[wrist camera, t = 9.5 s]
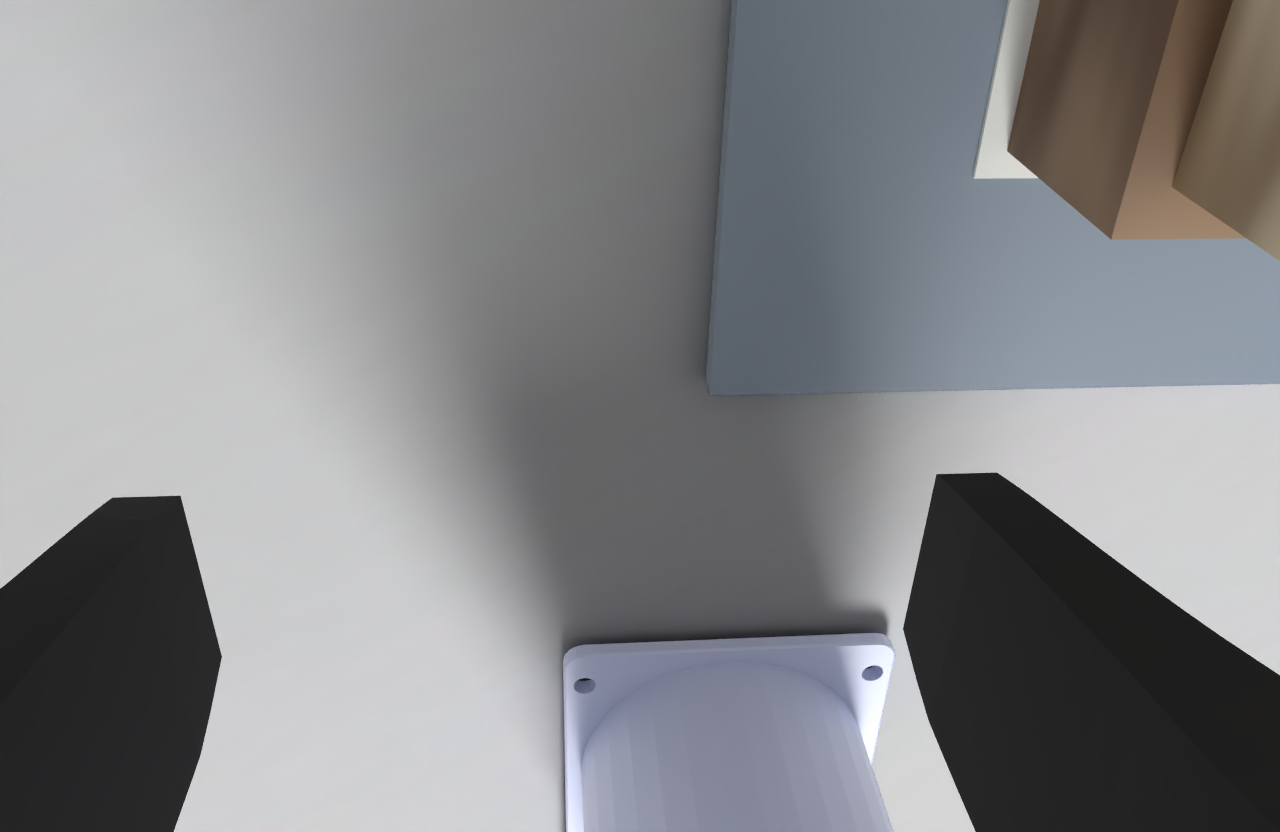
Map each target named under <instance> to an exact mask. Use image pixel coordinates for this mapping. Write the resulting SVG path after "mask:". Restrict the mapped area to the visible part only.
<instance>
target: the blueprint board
mask: <svg viewBox="0 0 1280 832" xmlns="http://www.w3.org/2000/svg"><path fill="white" fill-rule="evenodd" d="M1039 1H1040V0H732V1H731V15H730V30H729V44H728V59H727V74H726V88H725V103H724V117H723V132H722V146H721V161H720V176H719V190H718V205H717V219H716V234H715V248H714V263H713V278H712V292H711V307H710V321H709V336H708V350H707V365H706V379H705V381H706V385H707V388H708V392H709V396H721V395H769V394H816V393H863V392H911V391H958V390H1005V389H1052V388H1100V387H1147V386H1194V385H1242V384H1280V261H1279V260H1277V259H1276V258H1274V257H1273V256H1271V255H1270V254H1268V253H1267V252H1266V251H1264V250H1263V249H1261V248H1260V247H1258V246H1257V245H1255V244H1254V243H1252V242H1251V241H1250V240H1248V239H1247V238H1236V239H1122V240H1111V239H1110V238H1109V237H1107V236H1106V235H1105V234H1104V233H1103V232H1102V231H1100V230H1099V229H1098V228H1097V227H1096V226H1094V225H1093V224H1092V223H1091V222H1090V221H1089V220H1087V219H1086V218H1085V217H1084V216H1083V215H1082V214H1080V213H1079V212H1078V211H1077V210H1076V209H1074V208H1073V207H1072V206H1071V205H1070V204H1069V203H1067V202H1066V201H1065V200H1064V199H1063V198H1062V197H1060V196H1059V195H1058V194H1057V193H1056V192H1054V191H1053V190H1052V189H1051V188H1050V187H1049V186H1047V185H1046V184H1045V183H1044V182H1043V181H1042V180H1040V179H1039V178H1038V177H1037V176H1036V175H1034V174H1033V173H1032V172H1031V171H1030V170H1029V169H1027V168H1026V167H1025V166H1024V165H1023V164H1022V163H1020V162H1019V161H1018V160H1017V159H1016V158H1014V157H1013V156H1012V155H1011V154H1010V153H1009V152H1007V149H1008V145H1009V140H1010V135H1011V131H1012V126H1013V121H1014V117H1015V112H1016V108H1017V103H1018V98H1019V94H1020V89H1021V84H1022V80H1023V75H1024V71H1025V66H1026V61H1027V57H1028V52H1029V47H1030V43H1031V38H1032V34H1033V29H1034V24H1035V20H1036V15H1037V11H1038V6H1039Z"/></svg>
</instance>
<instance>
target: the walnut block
mask: <svg viewBox="0 0 1280 832" xmlns="http://www.w3.org/2000/svg"><path fill="white" fill-rule="evenodd" d="M1232 2H1233V0H1040V1H1039V6H1038V11H1037V15H1036V20H1035V24H1034V29H1033V34H1032V38H1031V43H1030V47H1029V52H1028V57H1027V61H1026V66H1025V71H1024V75H1023V80H1022V84H1021V89H1020V94H1019V98H1018V103H1017V108H1016V112H1015V117H1014V121H1013V126H1012V131H1011V135H1010V140H1009V145H1008V149H1007V152H1009V153H1010V154H1011V155H1012V156H1013V157H1014V158H1016V159H1017V160H1018V161H1019V162H1020V163H1022V164H1023V165H1024V166H1025V167H1026V168H1027V169H1029V170H1030V171H1031V172H1032V173H1033V174H1034V175H1036V176H1037V177H1038V178H1039V179H1040V180H1042V181H1043V182H1044V183H1045V184H1046V185H1047V186H1049V187H1050V188H1051V189H1052V190H1053V191H1054V192H1056V193H1057V194H1058V195H1059V196H1060V197H1062V198H1063V199H1064V200H1065V201H1066V202H1067V203H1069V204H1070V205H1071V206H1072V207H1073V208H1074V209H1076V210H1077V211H1078V212H1079V213H1080V214H1082V215H1083V216H1084V217H1085V218H1086V219H1087V220H1089V221H1090V222H1091V223H1092V224H1093V225H1094V226H1096V227H1097V228H1098V229H1099V230H1100V231H1102V232H1103V233H1104V234H1105V235H1106V236H1107V237H1109V238H1110V239H1111V240H1122V239H1236V238H1245V237H1244V236H1242V235H1241V234H1239V233H1238V232H1236V231H1235V230H1233V229H1232V228H1231V227H1229V226H1228V225H1226V224H1225V223H1223V222H1222V221H1220V220H1219V219H1217V218H1216V217H1215V216H1213V215H1212V214H1210V213H1209V212H1207V211H1206V210H1204V209H1203V208H1201V207H1200V206H1199V205H1197V204H1196V203H1194V202H1193V201H1191V200H1190V199H1188V198H1187V197H1185V196H1184V195H1183V194H1181V193H1180V192H1178V191H1177V190H1175V189H1174V188H1172V186H1173V183H1174V180H1175V176H1176V173H1177V170H1178V167H1179V164H1180V161H1181V158H1182V155H1183V152H1184V149H1185V146H1186V143H1187V140H1188V137H1189V134H1190V130H1191V127H1192V124H1193V121H1194V118H1195V115H1196V112H1197V109H1198V106H1199V103H1200V100H1201V97H1202V94H1203V91H1204V88H1205V85H1206V81H1207V78H1208V75H1209V72H1210V69H1211V66H1212V63H1213V60H1214V57H1215V54H1216V51H1217V48H1218V45H1219V42H1220V39H1221V35H1222V32H1223V29H1224V26H1225V23H1226V20H1227V17H1228V14H1229V11H1230V8H1231V5H1232Z"/></svg>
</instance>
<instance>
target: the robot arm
mask: <svg viewBox="0 0 1280 832" xmlns="http://www.w3.org/2000/svg"><path fill="white" fill-rule="evenodd" d="M903 630H904V634H905V637H906V641H907V645H908V649H909V653H910V656H911V660H912V664H913V668H914V671H915V675H916V679H917V682H918V686H919V689H920V693H921V696H922V699H923V703H924V706H925V710H926V713H927V716H928V720H929V722H930V725H931V727H932V730H933V732H934V734H935V737H936V739H937V742H938V744H939V747H940V749H941V751H942V754H943V756H944V758H945V761H946V763H947V766H948V768H949V770H950V773H951V775H952V777H953V780H954V782H955V785H956V787H957V789H958V792H959V794H960V796H961V799H962V801H963V803H964V806H965V808H966V810H967V813H968V815H969V817H970V819H971V822H972V824H973V826H974V829H975V831H976V832H1280V675H1278V674H1277V673H1275V672H1274V671H1272V670H1271V669H1269V668H1268V667H1266V666H1265V665H1263V664H1262V663H1260V662H1259V661H1257V660H1256V659H1254V658H1253V657H1251V656H1250V655H1248V654H1247V653H1245V652H1244V651H1242V650H1241V649H1239V648H1238V647H1236V646H1235V645H1233V644H1232V643H1230V642H1229V641H1227V640H1226V639H1224V638H1223V637H1221V636H1220V635H1218V634H1217V633H1215V632H1214V631H1212V630H1211V629H1210V628H1208V627H1207V626H1205V625H1204V624H1202V623H1201V622H1200V621H1198V620H1197V619H1195V618H1194V617H1192V616H1191V615H1190V614H1188V613H1187V612H1185V611H1184V610H1183V609H1181V608H1180V607H1178V606H1177V605H1176V604H1174V603H1173V602H1171V601H1170V600H1169V599H1167V598H1166V597H1165V596H1163V595H1162V594H1160V593H1159V592H1158V591H1156V590H1155V589H1154V588H1152V587H1151V586H1150V585H1148V584H1147V583H1145V582H1144V581H1143V580H1141V579H1140V578H1139V577H1137V576H1136V575H1135V574H1133V573H1132V572H1131V571H1129V570H1128V569H1127V568H1125V567H1124V566H1123V565H1121V564H1120V563H1119V562H1117V561H1116V560H1115V559H1113V558H1112V557H1111V556H1109V555H1108V554H1107V553H1105V552H1104V551H1103V550H1101V549H1100V548H1099V547H1097V546H1096V545H1095V544H1093V543H1092V542H1091V541H1089V540H1088V539H1087V538H1085V537H1084V536H1083V535H1081V534H1080V533H1079V532H1078V531H1076V530H1075V529H1074V528H1072V527H1071V526H1070V525H1068V524H1067V523H1066V522H1064V521H1063V520H1062V519H1060V518H1059V517H1058V516H1056V515H1055V514H1054V513H1052V512H1051V511H1050V510H1048V509H1047V508H1046V507H1044V506H1043V505H1042V504H1040V503H1039V502H1038V501H1036V500H1035V499H1034V498H1032V497H1031V496H1030V495H1028V494H1027V493H1026V492H1024V491H1023V490H1021V489H1020V488H1019V487H1017V486H1016V485H1014V484H1013V483H1011V482H1010V481H1008V480H1007V479H1005V478H1004V477H1002V476H1001V475H999V474H998V473H969V474H937V475H936V479H935V484H934V489H933V493H932V498H931V502H930V507H929V512H928V516H927V521H926V526H925V530H924V535H923V539H922V544H921V549H920V553H919V558H918V562H917V567H916V572H915V576H914V581H913V586H912V590H911V595H910V599H909V604H908V609H907V613H906V618H905V622H904V627H903ZM221 658H222V656H221V652H220V648H219V644H218V640H217V636H216V632H215V629H214V625H213V621H212V617H211V613H210V609H209V605H208V601H207V597H206V594H205V590H204V586H203V582H202V578H201V574H200V570H199V566H198V563H197V559H196V555H195V551H194V547H193V543H192V539H191V535H190V531H189V527H188V524H187V520H186V516H185V512H184V508H183V504H182V500H181V496H158V497H122V498H111V499H110V500H109V501H107V502H106V503H105V504H103V505H102V506H101V507H99V508H98V509H97V510H95V511H94V512H93V513H92V514H90V515H89V516H88V517H87V518H85V519H84V520H83V521H82V522H80V523H79V524H78V525H77V526H76V527H74V528H73V529H72V530H71V531H69V532H68V533H67V534H66V535H65V536H63V537H62V538H61V539H60V540H59V541H57V542H56V543H55V544H54V545H53V546H51V547H50V548H49V549H48V550H47V551H45V552H44V553H43V554H42V555H41V556H39V557H38V558H37V559H36V560H35V561H33V562H32V563H31V564H30V565H29V566H27V567H26V568H25V569H24V570H23V571H21V572H20V573H19V574H18V575H17V576H16V577H14V578H13V579H12V580H11V581H10V582H8V583H7V584H6V585H5V586H3V587H2V588H1V589H0V832H174V829H175V826H176V823H177V820H178V817H179V815H180V812H181V809H182V806H183V803H184V801H185V798H186V795H187V792H188V789H189V787H190V784H191V781H192V778H193V775H194V772H195V769H196V766H197V763H198V761H199V758H200V754H201V750H202V746H203V742H204V737H205V733H206V729H207V724H208V720H209V716H210V711H211V707H212V702H213V697H214V692H215V687H216V682H217V677H218V672H219V667H220V662H221ZM894 659H895V650H894V647H893V645H892V642H891V640H890V639H889V638H888V637H887V636H886V635H884V634H880V633H859V634H834V635H810V636H785V637H761V638H737V639H712V640H688V641H663V642H639V643H615V644H590V645H580V646H576V647H574V648H572V649H570V650H569V651H568V652H567V653H566V654H565V655H564V659H563V685H564V742H565V798H566V832H893V829H892V826H891V823H890V820H889V817H888V814H887V811H886V808H885V805H884V802H883V799H882V796H881V793H880V790H879V787H878V784H877V781H876V778H875V775H874V772H873V769H872V761H873V757H874V752H875V747H876V743H877V738H878V733H879V729H880V724H881V719H882V715H883V710H884V705H885V701H886V696H887V691H888V687H889V682H890V677H891V673H892V668H893V663H894ZM873 665H876V666H874V667H873V668H869V669H866V668H867V667H869V666H873ZM582 678H589V679H591V680H589V681H578V680H579V679H582Z"/></svg>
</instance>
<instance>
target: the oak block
mask: <svg viewBox="0 0 1280 832" xmlns="http://www.w3.org/2000/svg"><path fill="white" fill-rule="evenodd" d="M1172 188H1174V189H1175V190H1177V191H1178V192H1180V193H1181V194H1183V195H1184V196H1185V197H1187V198H1188V199H1190V200H1191V201H1193V202H1194V203H1196V204H1197V205H1199V206H1200V207H1201V208H1203V209H1204V210H1206V211H1207V212H1209V213H1210V214H1212V215H1213V216H1215V217H1216V218H1217V219H1219V220H1220V221H1222V222H1223V223H1225V224H1226V225H1228V226H1229V227H1231V228H1232V229H1233V230H1235V231H1236V232H1238V233H1239V234H1241V235H1242V236H1244V237H1245V238H1247V239H1248V240H1250V241H1251V242H1252V243H1254V244H1255V245H1257V246H1258V247H1260V248H1261V249H1263V250H1264V251H1266V252H1267V253H1268V254H1270V255H1271V256H1273V257H1274V258H1276V259H1277V260H1279V261H1280V0H1233V2H1232V5H1231V8H1230V11H1229V14H1228V17H1227V20H1226V23H1225V26H1224V29H1223V32H1222V35H1221V39H1220V42H1219V45H1218V48H1217V51H1216V54H1215V57H1214V60H1213V63H1212V66H1211V69H1210V72H1209V75H1208V78H1207V81H1206V85H1205V88H1204V91H1203V94H1202V97H1201V100H1200V103H1199V106H1198V109H1197V112H1196V115H1195V118H1194V121H1193V124H1192V127H1191V130H1190V134H1189V137H1188V140H1187V143H1186V146H1185V149H1184V152H1183V155H1182V158H1181V161H1180V164H1179V167H1178V170H1177V173H1176V176H1175V180H1174V183H1173V186H1172Z"/></svg>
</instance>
